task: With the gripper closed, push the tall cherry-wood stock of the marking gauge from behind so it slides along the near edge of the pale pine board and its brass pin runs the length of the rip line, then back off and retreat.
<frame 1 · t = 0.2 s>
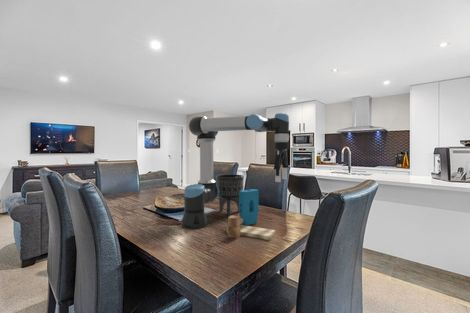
hand: (281, 180, 124), 28 cm above the table, fingers open, 13 cm apart
planter: (229, 213, 161), on the table
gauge: (237, 224, 119), point 5 cm above the table, slide at 0.0 cm
board: (250, 233, 121), on the table
block: (248, 223, 137), on the table
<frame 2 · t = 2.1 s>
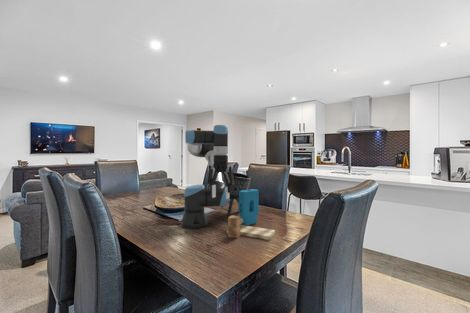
hand: (220, 197, 119), 19 cm above the table, fingers open, 8 cm apart
planter: (230, 210, 161), point 1 cm above the table, touching arm
everything else where it was.
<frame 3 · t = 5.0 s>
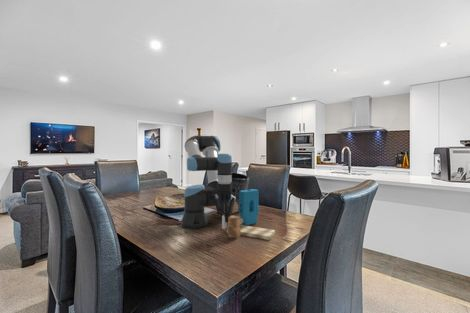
hand: (224, 227, 118), 4 cm above the table, fingers closed
planter: (229, 211, 161), point 1 cm above the table
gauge: (237, 224, 119), point 5 cm above the table, slide at 0.1 cm, touching gripper
everything else where it was.
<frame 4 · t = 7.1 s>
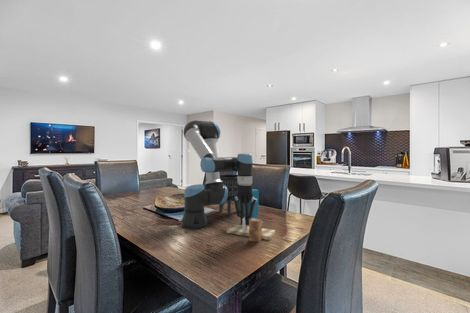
hand: (244, 231, 113), 4 cm above the table, fingers closed
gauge: (257, 227, 114), point 5 cm above the table, slide at 11.6 cm, touching gripper
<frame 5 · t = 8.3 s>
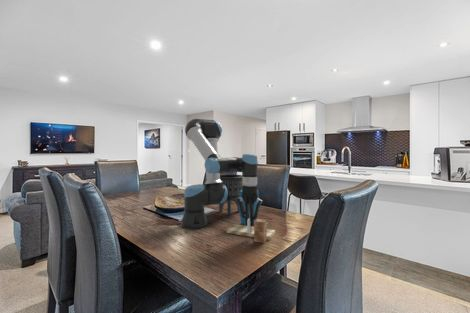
hand: (249, 232, 112), 3 cm above the table, fingers closed
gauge: (262, 228, 113), point 5 cm above the table, slide at 14.2 cm, touching gripper
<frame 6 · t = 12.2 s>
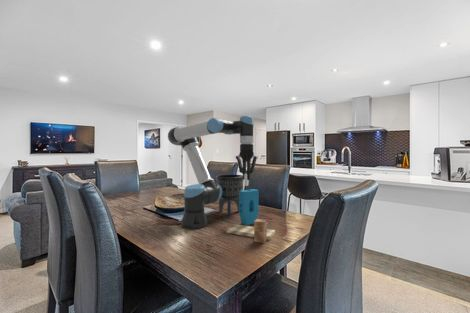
hand: (246, 185, 128), 24 cm above the table, fingers closed
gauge: (262, 228, 113), point 5 cm above the table, slide at 14.2 cm
at the end: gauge slide at 14.2 cm; the gripper is holding nothing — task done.
